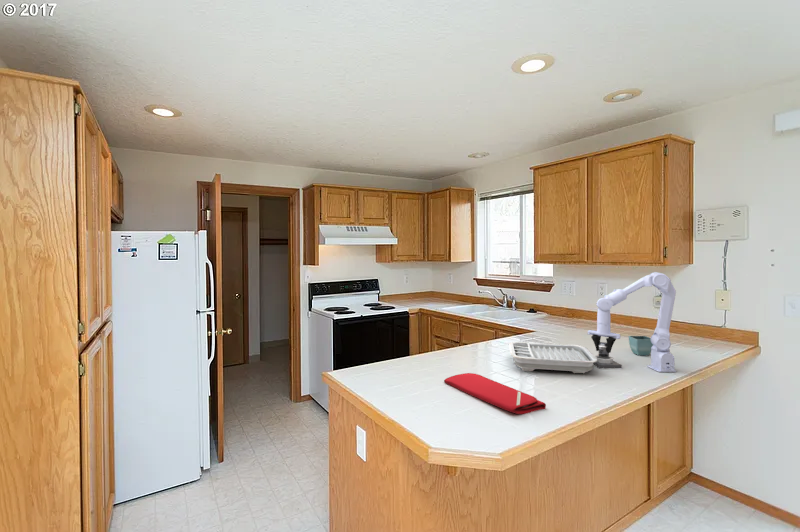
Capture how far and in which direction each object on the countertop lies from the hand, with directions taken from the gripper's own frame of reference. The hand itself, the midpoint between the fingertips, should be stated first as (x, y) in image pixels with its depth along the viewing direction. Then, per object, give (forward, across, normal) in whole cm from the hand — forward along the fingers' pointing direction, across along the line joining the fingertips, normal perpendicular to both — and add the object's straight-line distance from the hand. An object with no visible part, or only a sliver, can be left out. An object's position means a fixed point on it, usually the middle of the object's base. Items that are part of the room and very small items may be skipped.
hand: (603, 351), depth 197 cm
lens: (+2, 0, 0) cm, 2 cm away
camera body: (+6, 0, 0) cm, 6 cm away
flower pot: (+6, -4, -33) cm, 34 cm away
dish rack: (+7, +16, +21) cm, 27 cm away
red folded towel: (+7, +9, +73) cm, 74 cm away
